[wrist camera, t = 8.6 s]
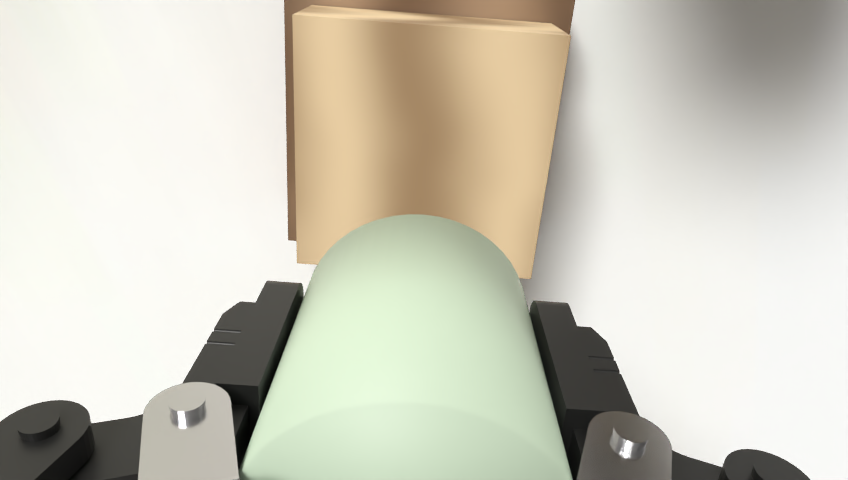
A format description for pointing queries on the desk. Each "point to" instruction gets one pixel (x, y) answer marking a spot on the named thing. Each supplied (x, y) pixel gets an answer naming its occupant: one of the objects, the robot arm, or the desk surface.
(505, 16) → the walnut base block
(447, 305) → the green capsule
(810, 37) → the desk surface
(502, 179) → the oak top block
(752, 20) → the desk surface
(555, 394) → the robot arm
